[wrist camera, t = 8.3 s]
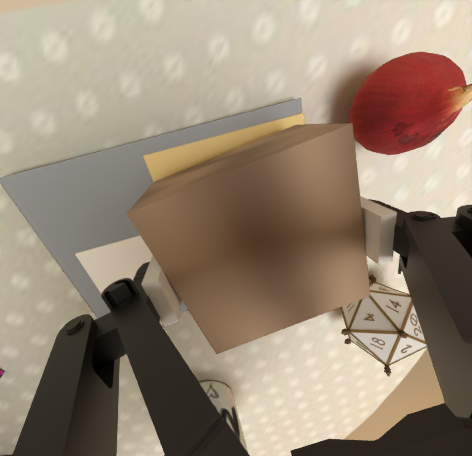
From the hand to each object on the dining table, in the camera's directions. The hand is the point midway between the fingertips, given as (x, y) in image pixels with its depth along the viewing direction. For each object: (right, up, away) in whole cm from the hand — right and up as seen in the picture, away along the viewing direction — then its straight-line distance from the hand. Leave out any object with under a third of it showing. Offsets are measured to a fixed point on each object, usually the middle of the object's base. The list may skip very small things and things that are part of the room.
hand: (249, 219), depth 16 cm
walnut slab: (0, 0, 0) cm, 0 cm away
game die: (+13, -9, +10) cm, 19 cm away
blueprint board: (-5, -1, +4) cm, 6 cm away
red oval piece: (+9, +9, +2) cm, 13 cm away
